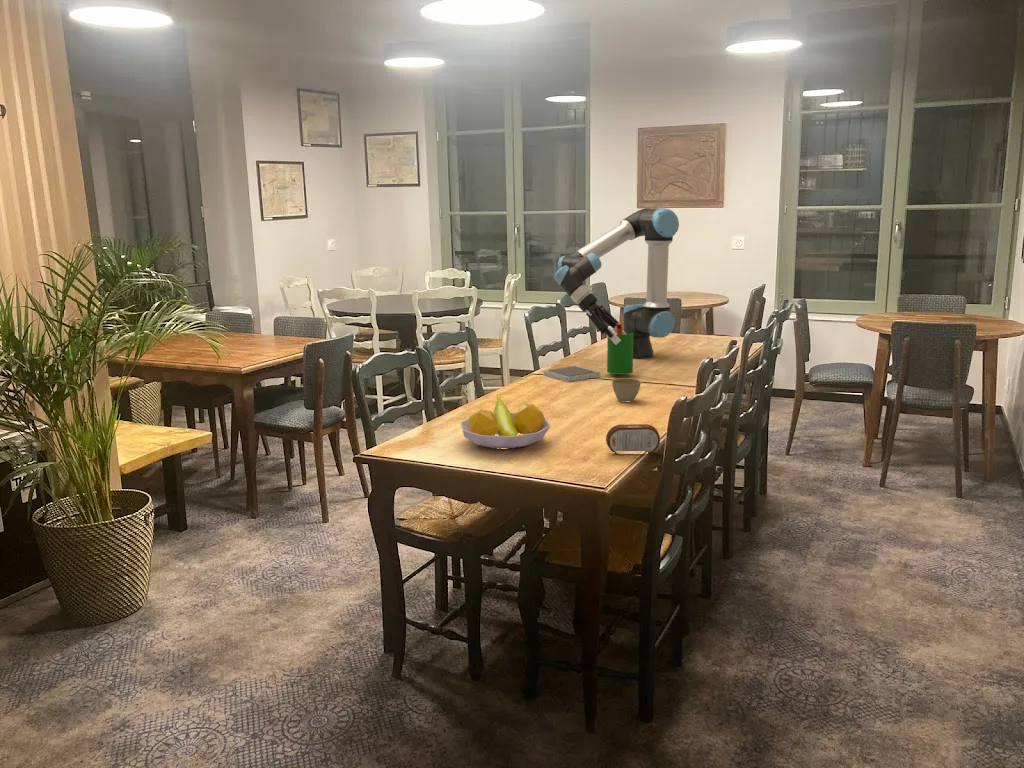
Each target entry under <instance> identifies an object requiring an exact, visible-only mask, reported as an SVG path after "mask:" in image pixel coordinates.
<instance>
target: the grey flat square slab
mask: <svg viewBox="0 0 1024 768" xmlns="http://www.w3.org/2000/svg"><path fill="white" fill-rule="evenodd" d="M544 375H545V376H544ZM600 375H601V374H600V371H597V370H593V369H589V368H586V367H582V366H578V365H572V366H565V367H564V366H563V367H559V368H551V369H545V370H543V376H544V377H548V378H551V379H554V378H555V380H558V381H561V380H562V382H564V381H565V383H571V381H573V382H577V380H579V381H583V380H582V379H585V380H590V379H589V378H591V379H595V378H594V377H597V378H600V377H601V376H600Z"/></svg>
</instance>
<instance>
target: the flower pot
mask: <svg viewBox="0 0 1024 768" xmlns="http://www.w3.org/2000/svg"><path fill="white" fill-rule="evenodd" d="M641 383H642V381H641V380H639V379H636V378H630V377H629V378H627V377H622V378H621V377H619V378H615V379H613V380H611V385H612V389H613V392H614V395H615V397H616V398H617V400H618V401H619V402H620V401H633V402H634V400H635V399H636V397H637V395H638V393H639V391H640V388H641Z"/></svg>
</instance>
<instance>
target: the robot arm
mask: <svg viewBox="0 0 1024 768" xmlns="http://www.w3.org/2000/svg"><path fill="white" fill-rule="evenodd" d="M679 227H680V222H679V218H678V215H677V214H676V213H675V212H674V211H673V210H672V209H668V208H664V207H659V208H658V207H657V208H654V207H653V208H651V207H645V208H641V209H639V210H637V211H635V212H633V213H632V214H630V215H628V216H627V217H625V218H624V219H623V218H622V220H620V222H619V224H618V225H617V226H615V227H613V228H611V230H607V232H605V233H604V234H602V235H601V236H599V237H597V238H596V239H594V240H592V241H591V242H589V243H587V244H586V245H584V246H583V247H581V248H579V249H578V250H576V251H575V252H573V253H571V254H568V255H563V256H561V257H559V259H558V261H557V267H558V269H557V271H556V272H555V273H554V275H553V279H554V280H555V282H556V283H557V284H558V286H559V287H561V289H562V290H563V291H564V292H565V294H567V295H568V296H569V297H570V299H571V301H572V302H574V303H575V304H576V305H577V307H578V308H579V309H580V310H581V311H582V312H583V313H585V312H586V313H585V315H586V316H587V317H588V318H589V319H590V320H591V322H592V323H593V324H594V325H595V327H596V328H597V329H598V330H599V332H600V333H601V335H604V334H605V335H606V336H607V338H608V337H609V338H610V339H611V340H612V342H613V343H614V344H615V345H617V344H618V343H619V342H620V341H621V340H620V339H619V338H618V337H617V333H618V330H617V323H620V322H619V320H617V319H616V318H615V317H614V316H613V315H612V314H611V313H609V311H608V310H607V309H606V308H605V307H604V306H603V305H598V304H597V302H598V298H597V297H596V296H595V295H594V294H593V293H591V290H590V289H589V288H588V286H587V285H585V284H584V282H585V281H586V280H588V279H589V278H590V277H592V276H593V275H594V274H596V273H597V272H598V271H599V270H600V269H601V268H602V261H601V258H602V257H604V256H605V255H606V254H608V253H609V252H611V251H612V250H614V249H616V248H617V247H619V246H621V245H622V244H624V243H625V242H628V241H633V240H635V239H637V238H639V237H644V242H645V243H646V244H647V268H646V269H647V272H646V274H647V275H646V296H645V297H646V299H645V300H646V301H645V302H644V303H640V304H638V303H637V304H628V305H625V306H624V308H623V329H622V332H623V334H622V335H626V334H631V333H633V359H648V358H652V357H654V349H653V345H652V342H651V339H650V338H651V337H652V338H657V339H658V338H659V339H662V338H665V337H668V336H669V335H670V333H672V331H673V330H674V328H675V323H676V320H675V316H674V314H672V312H670V311H671V305H670V303H668V299H667V298H668V275H669V249H670V248H669V247H670V245H671V244H672V243H673V241H674V240H673V239H674V236H675V235H676V233H677V232H678V230H679ZM608 326H610V328H609V327H608ZM611 328H612V329H611Z"/></svg>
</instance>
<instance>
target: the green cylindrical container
mask: <svg viewBox="0 0 1024 768" xmlns="http://www.w3.org/2000/svg"><path fill="white" fill-rule="evenodd" d="M617 330H618V333H617V334H616V335H617V337H618V338H619V339H620V340H621V341H620V342H619V343H618V344H617V345H615V344H614V343H613V342H612V340H611V339H610V338H609V337H608V336H607V356H606V359H607V362H606V363H607V364H606V365H607V366H606V373H608V374H614V375H628V374H632V373H633V371H634V368H633V367H634V358H633V333H631V334H626V335H622V334H623V332H622V330H623V322H619V323H617Z"/></svg>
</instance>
